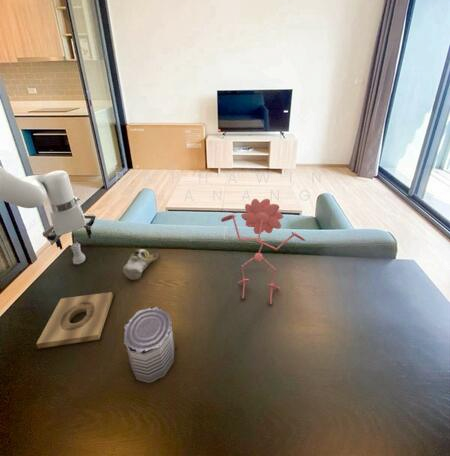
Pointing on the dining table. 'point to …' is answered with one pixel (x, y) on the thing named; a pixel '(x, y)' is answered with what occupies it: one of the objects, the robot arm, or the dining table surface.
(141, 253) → the ceramic sculpture
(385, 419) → the dining table surface
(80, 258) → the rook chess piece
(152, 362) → the can
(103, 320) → the wooden board with hole
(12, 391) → the dining table surface
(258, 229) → the figurine
